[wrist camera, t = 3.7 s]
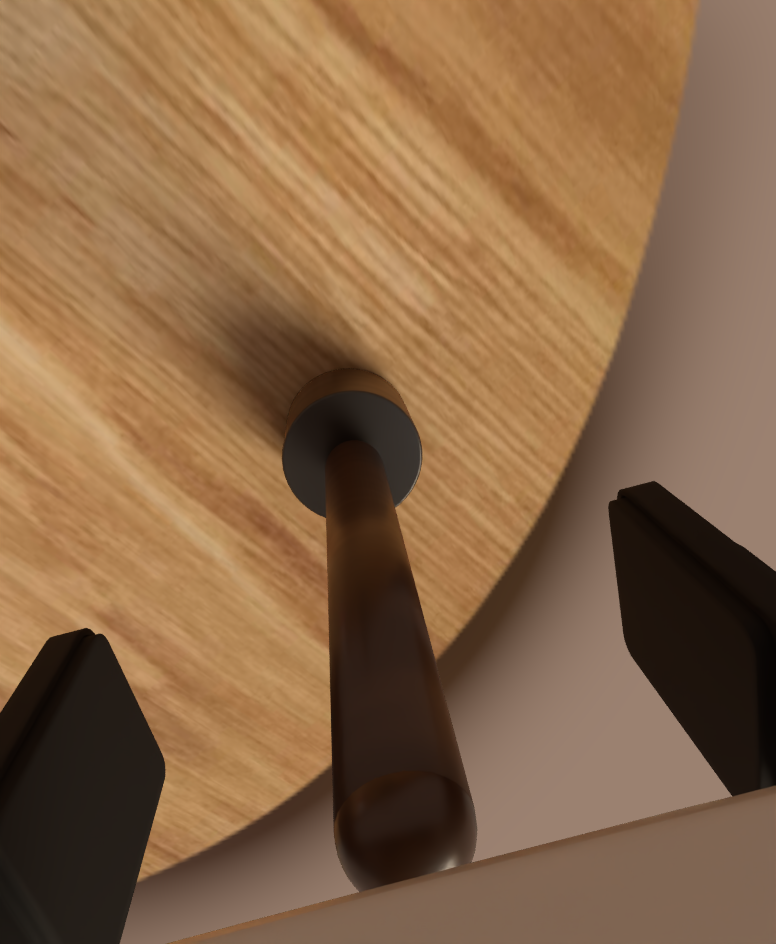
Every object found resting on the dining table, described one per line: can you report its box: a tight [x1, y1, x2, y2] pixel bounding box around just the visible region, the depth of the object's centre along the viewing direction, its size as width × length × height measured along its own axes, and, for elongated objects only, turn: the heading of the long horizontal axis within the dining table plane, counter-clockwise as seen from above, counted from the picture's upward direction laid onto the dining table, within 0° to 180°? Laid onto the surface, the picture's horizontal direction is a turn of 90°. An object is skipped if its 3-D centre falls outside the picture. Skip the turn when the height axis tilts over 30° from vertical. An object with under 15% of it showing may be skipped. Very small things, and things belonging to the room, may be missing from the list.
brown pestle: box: [282, 368, 477, 892], centre depth 14 cm, size 4×4×16 cm
